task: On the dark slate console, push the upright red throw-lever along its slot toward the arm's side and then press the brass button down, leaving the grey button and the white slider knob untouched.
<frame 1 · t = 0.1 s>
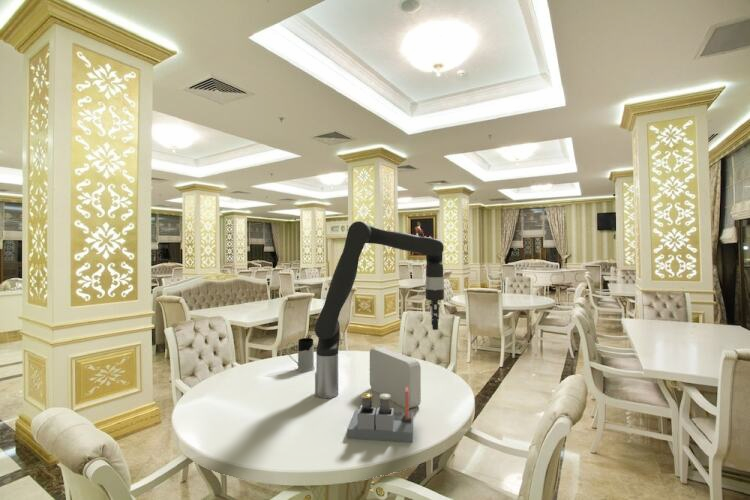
hand: (434, 327, 155), 29 cm above the table, fingers open, 8 cm apart
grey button: (385, 403, 124), point 11 cm above the table, slide at 0.0 cm
grey mug: (300, 369, 195), on the table
rounded white slab: (393, 397, 157), on the table
red lever: (407, 404, 129), point 8 cm above the table, slide at 0.0 cm
brass button: (366, 402, 125), point 11 cm above the table, slide at 0.0 cm
console: (381, 429, 129), on the table
slider knob: (363, 409, 135), point 4 cm above the table, slide at 0.0 cm
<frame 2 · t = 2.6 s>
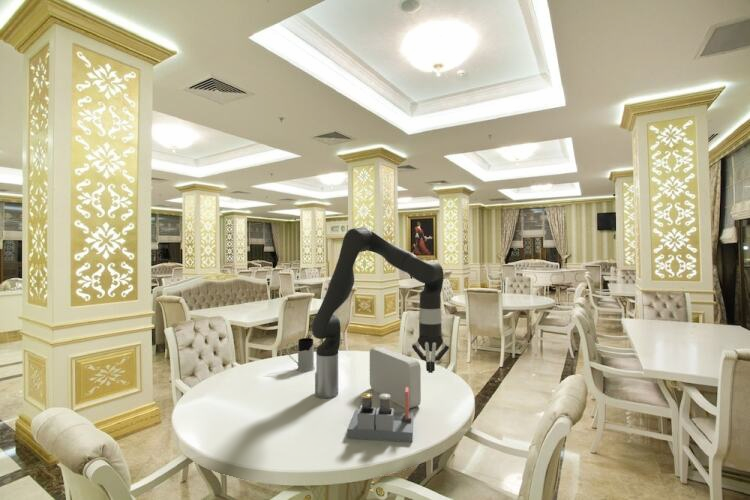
hand: (430, 372, 128), 20 cm above the table, fingers closed
nothing on the table moved.
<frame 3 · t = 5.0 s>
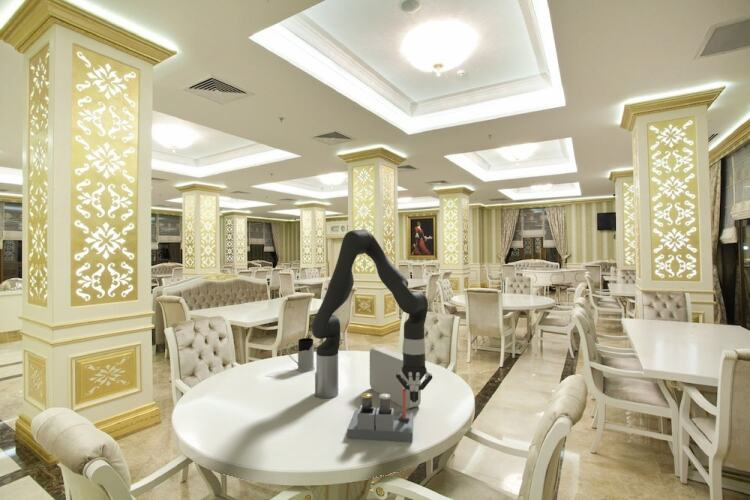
hand: (414, 401, 129), 9 cm above the table, fingers closed
red lever: (404, 404, 129), point 8 cm above the table, slide at 0.9 cm, touching gripper
everything else where it was.
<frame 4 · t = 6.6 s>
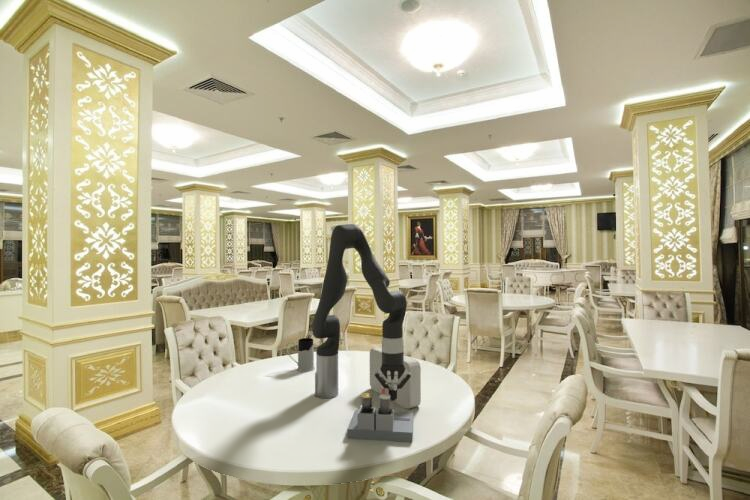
hand: (393, 400, 130), 9 cm above the table, fingers closed
red lever: (383, 403, 130), point 8 cm above the table, slide at 8.0 cm, touching gripper
everything else where it was.
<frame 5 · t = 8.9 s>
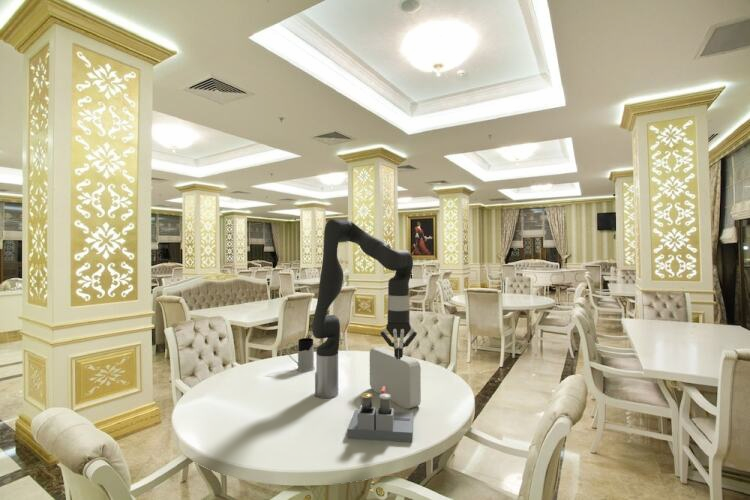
hand: (398, 358, 130), 24 cm above the table, fingers closed
red lever: (383, 403, 130), point 8 cm above the table, slide at 8.1 cm
everything else where it was.
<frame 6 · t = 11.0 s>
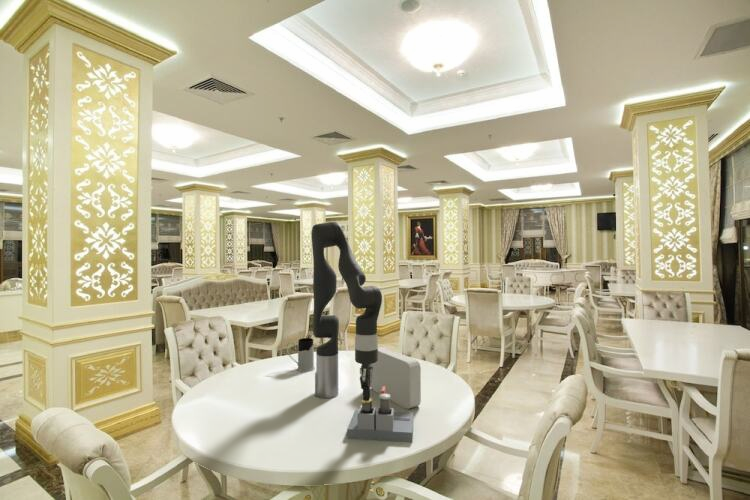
hand: (366, 399, 125), 12 cm above the table, fingers closed
brass button: (366, 407, 125), point 9 cm above the table, slide at 1.5 cm, touching gripper
everything else where it was.
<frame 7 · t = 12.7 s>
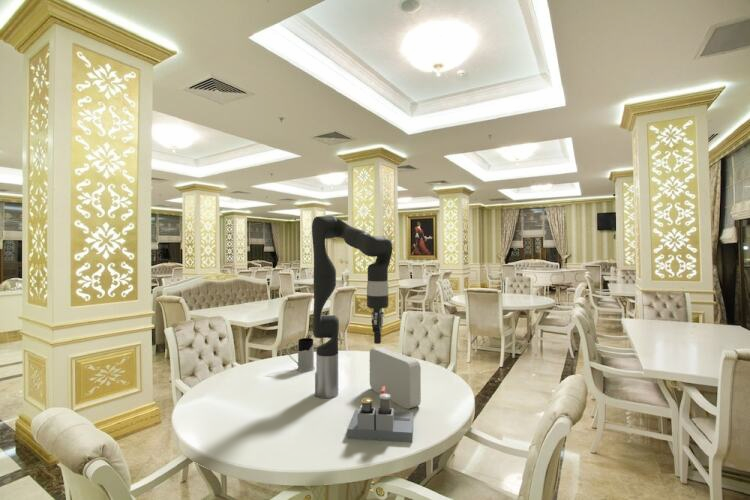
hand: (377, 343, 132), 29 cm above the table, fingers closed
brass button: (366, 407, 125), point 9 cm above the table, slide at 1.6 cm
everything else where it was.
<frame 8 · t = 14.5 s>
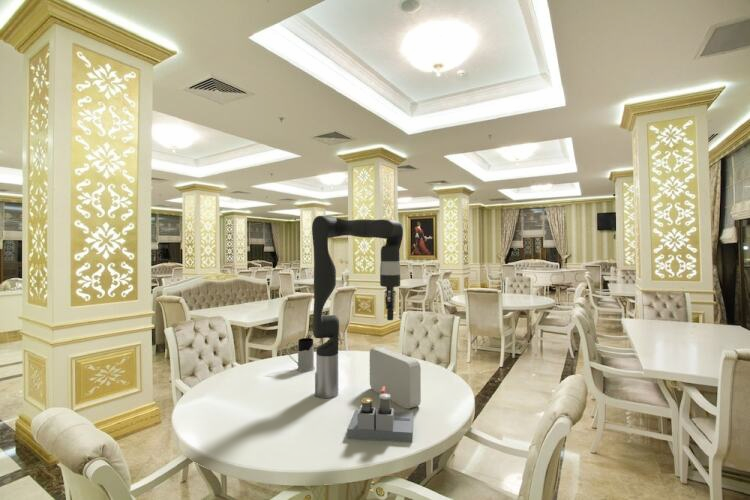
hand: (390, 319, 141), 35 cm above the table, fingers closed
nothing on the table moved.
at the end: red lever slide at 8.1 cm; brass button slide at 1.6 cm; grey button slide at 0.0 cm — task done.
